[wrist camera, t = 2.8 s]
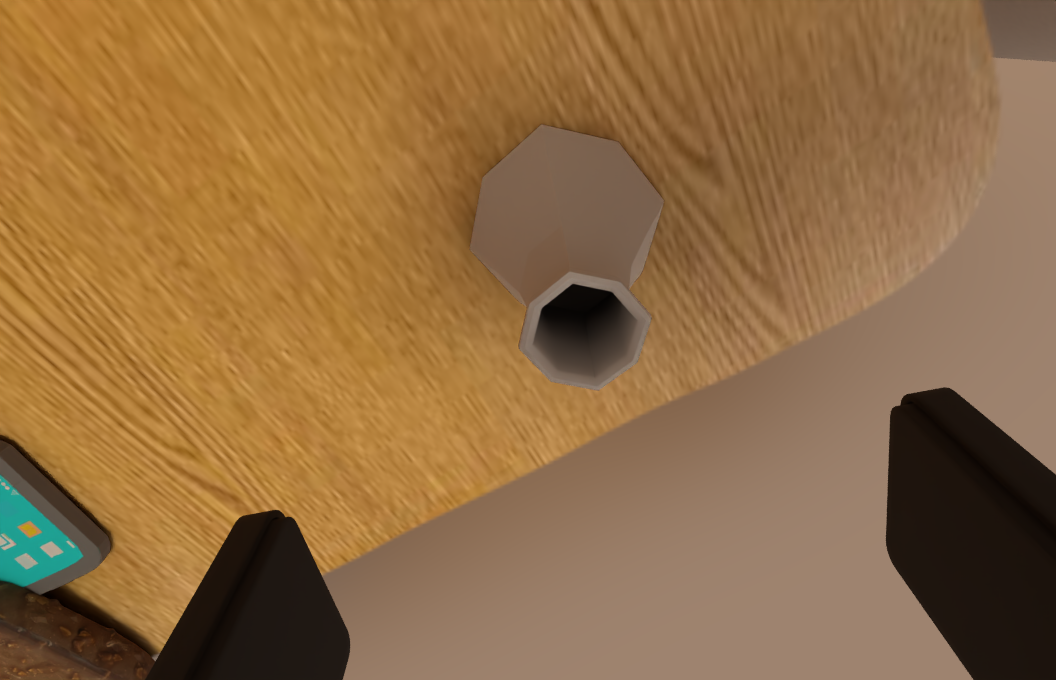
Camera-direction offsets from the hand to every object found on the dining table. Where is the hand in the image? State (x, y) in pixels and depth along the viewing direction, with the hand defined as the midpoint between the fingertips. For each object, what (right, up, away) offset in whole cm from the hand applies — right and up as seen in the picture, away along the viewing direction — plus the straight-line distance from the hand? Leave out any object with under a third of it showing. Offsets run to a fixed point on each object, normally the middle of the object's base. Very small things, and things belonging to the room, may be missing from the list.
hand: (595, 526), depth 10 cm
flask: (0, +8, +15) cm, 17 cm away
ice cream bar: (-32, -7, +19) cm, 38 cm away
